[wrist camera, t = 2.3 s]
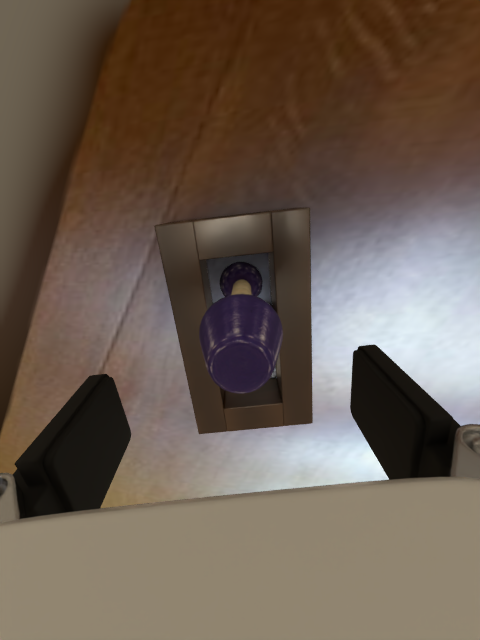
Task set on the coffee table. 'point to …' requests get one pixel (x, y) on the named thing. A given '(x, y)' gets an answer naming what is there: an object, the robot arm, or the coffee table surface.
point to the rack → (286, 298)
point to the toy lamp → (240, 332)
